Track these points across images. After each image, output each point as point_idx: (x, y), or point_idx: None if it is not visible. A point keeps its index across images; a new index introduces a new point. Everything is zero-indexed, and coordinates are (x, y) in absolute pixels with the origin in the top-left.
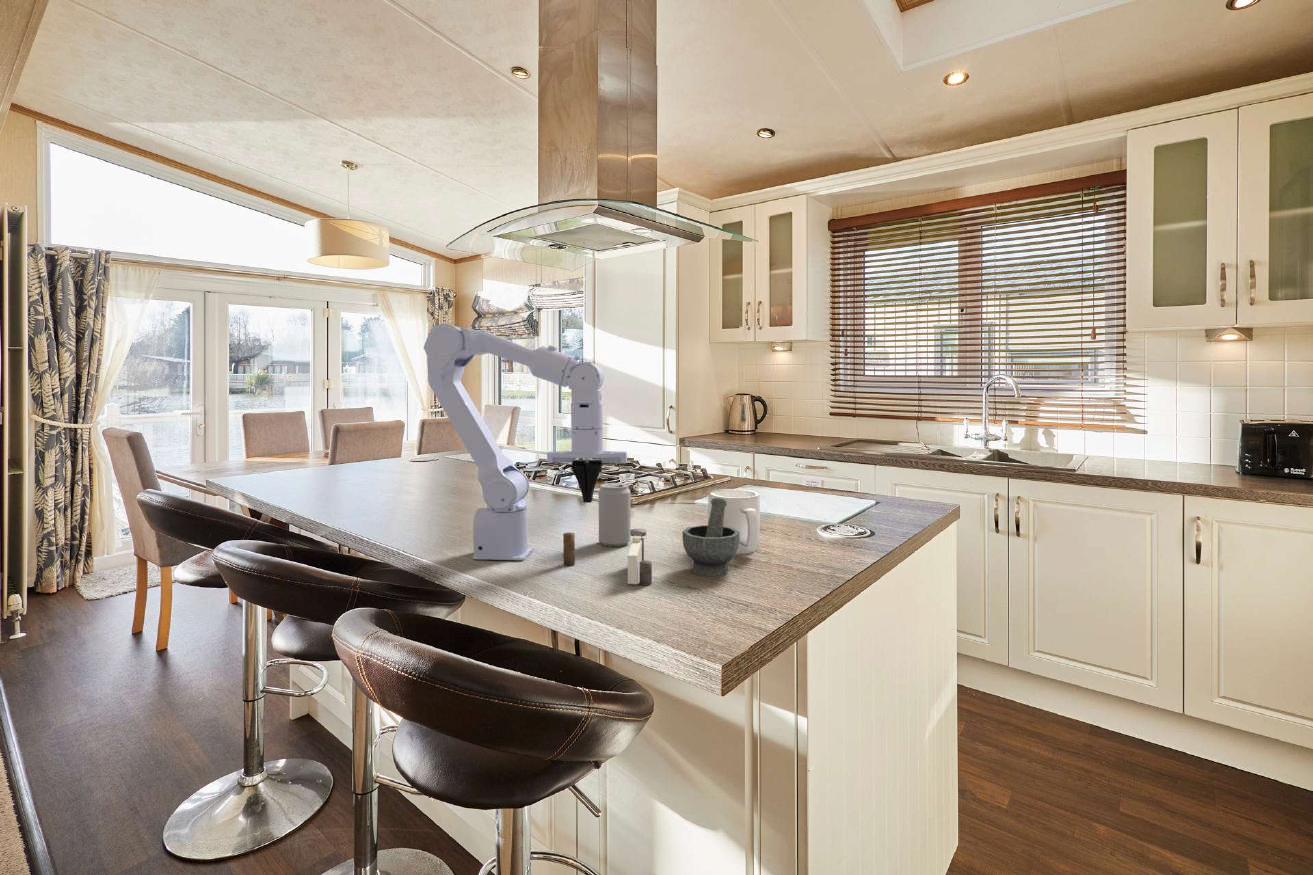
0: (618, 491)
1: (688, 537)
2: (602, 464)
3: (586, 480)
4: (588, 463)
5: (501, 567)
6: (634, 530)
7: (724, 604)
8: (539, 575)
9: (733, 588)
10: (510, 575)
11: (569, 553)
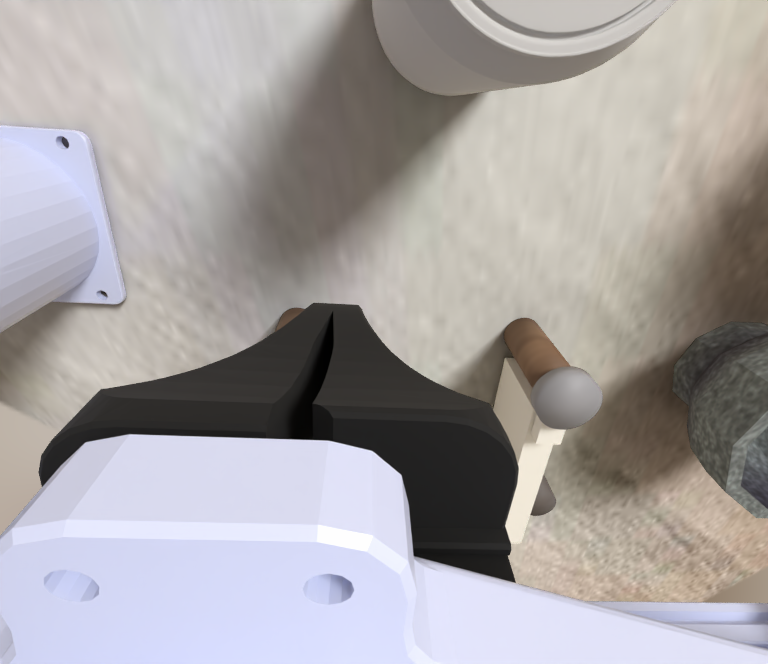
0: (588, 56)
1: (721, 487)
2: (503, 530)
3: (309, 435)
4: (274, 434)
5: (91, 359)
6: (553, 406)
7: (651, 547)
8: None
9: (712, 480)
10: None
11: None
